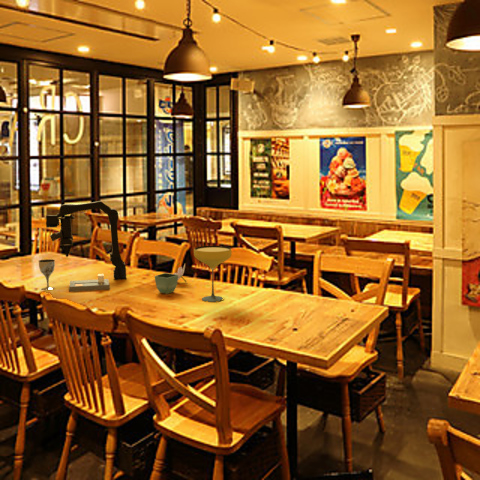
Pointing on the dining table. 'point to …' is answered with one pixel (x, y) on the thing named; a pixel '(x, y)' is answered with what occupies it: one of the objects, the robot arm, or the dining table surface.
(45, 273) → the wine glass
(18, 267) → the dining table surface
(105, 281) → the console
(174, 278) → the flower pot
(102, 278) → the fader
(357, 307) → the dining table surface
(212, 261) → the cocktail glass
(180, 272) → the water lily
